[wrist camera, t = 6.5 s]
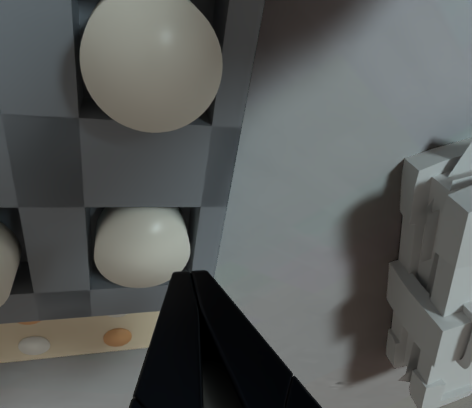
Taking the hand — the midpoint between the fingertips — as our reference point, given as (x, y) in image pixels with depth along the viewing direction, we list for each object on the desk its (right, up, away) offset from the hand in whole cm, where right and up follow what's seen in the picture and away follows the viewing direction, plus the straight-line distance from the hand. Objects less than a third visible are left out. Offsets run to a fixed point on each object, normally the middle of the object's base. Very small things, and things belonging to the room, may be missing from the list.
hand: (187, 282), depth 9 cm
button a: (-2, +7, +4) cm, 9 cm away
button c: (-4, +1, +10) cm, 11 cm away
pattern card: (-9, -6, +15) cm, 18 cm away
